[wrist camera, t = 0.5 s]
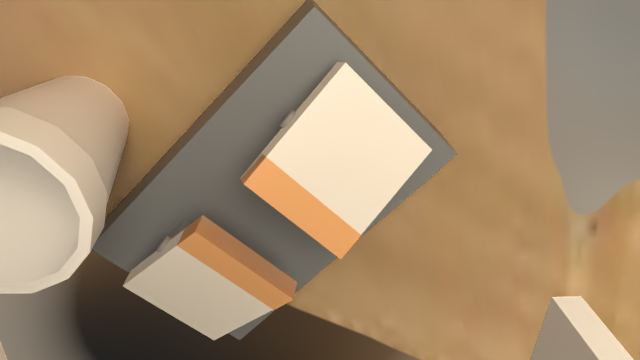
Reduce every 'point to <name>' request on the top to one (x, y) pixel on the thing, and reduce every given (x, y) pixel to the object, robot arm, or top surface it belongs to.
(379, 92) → the switch unit
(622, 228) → the top surface
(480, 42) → the top surface
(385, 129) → the panel
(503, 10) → the top surface
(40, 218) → the foam cup
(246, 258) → the block
